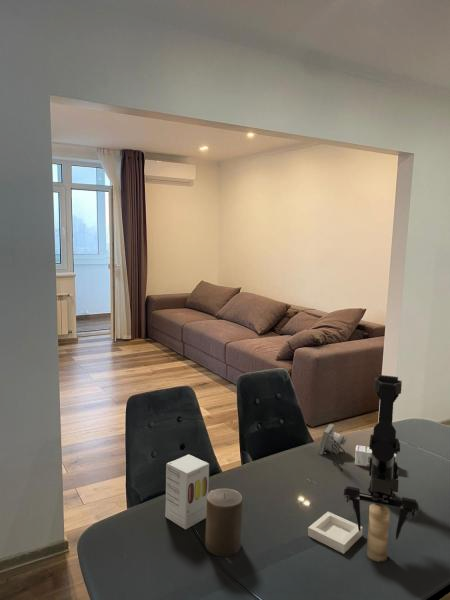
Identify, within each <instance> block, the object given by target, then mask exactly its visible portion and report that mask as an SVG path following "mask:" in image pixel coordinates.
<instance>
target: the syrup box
mask: <svg viewBox="0 0 450 600" xmlns="http://www.w3.org/2000/svg"><path fill="white" fill-rule="evenodd" d="M354 453H355V457H354V459H355V460H354V465H356V466H360V467H361V466H362V467H367V468H370V458H372V450H371V449H369V446H364V445H356V446H355V451H354ZM394 455H395V462H396V461H397V460H396V459H397V454H395V453H394Z"/></svg>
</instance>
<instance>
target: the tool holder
mask: <svg viewBox="0 0 450 600" xmlns="http://www.w3.org/2000/svg"><path fill="white" fill-rule="evenodd" d="M363 530H364V529H363V526H362V525H361V529H360V531H359V529H358V524H357V523H355V522H352V521H350V520H348V519H346V518H343V517H341V516H338V515H336V514H334V513H333V512H330V511H326V513H324V514H323V515H321V516H320V517H319V518H318V519H317V520H316V521H314V522H313V523H312V524H311V525H310V526H308V527H307V536H308V537H309V538H312V539H314V540H316V541H317V542H319V543H322V544H324V545H326V546H327V547H329V548H332V549H333V550H335V551H337V552H339V553H342V554H343V555H345V553H346V552H347V551H348V550H349V549H350V548H352V547H353V545H354V544H355V543H356V542H357V541H358V540H359V539H360V538H361V537H363Z"/></svg>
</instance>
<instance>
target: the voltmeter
mask: <svg viewBox="0 0 450 600" xmlns="http://www.w3.org/2000/svg"><path fill="white" fill-rule="evenodd" d="M334 429H335V430H337V429H338V428H337V427H335V424H332V423H329V424H328V426H327V427H326V429H325V430H324V431H323V434H322V437H321V441H320V443H319V447H318V450H317V454H319V455H321V456H322V455H323V454H325V455H327V452H326V451H328V452H330V454H331V456H330V457H331V460H333V461H332V464H333V465H334V466H337V467H338V468H339V469H340V470H341V471H342V472H343V471H344V469H343V468H342V467H341V466H340V465H339V463H338V462H339V461H340V463H342V464H343V465H344V464H345V463H344V461H343V460H342V459H341V458H340V456H341V453H340V449H341V450H342V452H343V453H344V454H346V451H345V450H344V448H342V445H345V443H346V442H347V441H346V440H347V438H346V437H344V434H341V433H338V432H336V431H334Z"/></svg>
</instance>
